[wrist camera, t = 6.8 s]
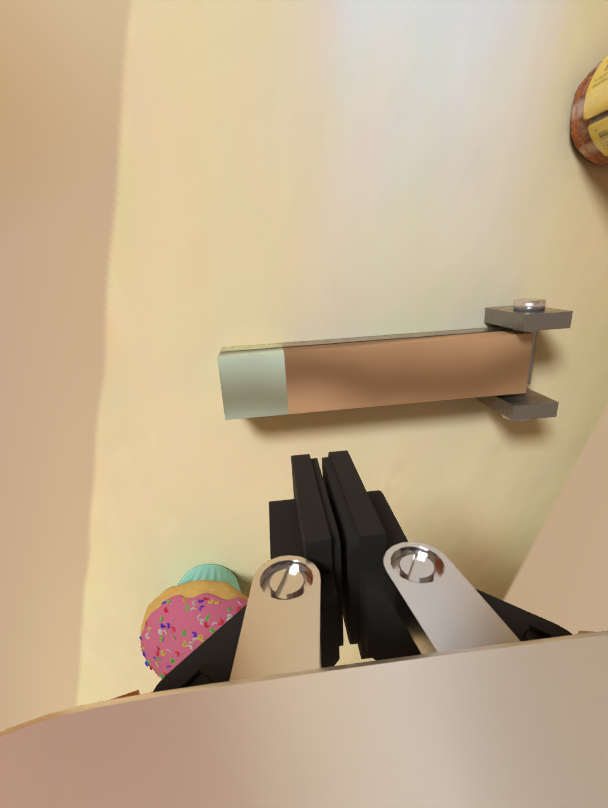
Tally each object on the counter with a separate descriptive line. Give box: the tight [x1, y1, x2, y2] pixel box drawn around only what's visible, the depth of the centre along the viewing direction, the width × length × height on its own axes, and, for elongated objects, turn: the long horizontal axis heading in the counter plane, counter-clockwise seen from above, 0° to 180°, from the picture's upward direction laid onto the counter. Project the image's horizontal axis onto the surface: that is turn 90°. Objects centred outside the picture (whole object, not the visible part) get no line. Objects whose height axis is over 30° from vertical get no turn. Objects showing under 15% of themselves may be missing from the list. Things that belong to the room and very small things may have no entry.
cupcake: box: [140, 564, 249, 679], centre depth 28 cm, size 9×8×12 cm
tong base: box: [220, 299, 573, 422], centre depth 27 cm, size 8×22×4 cm, turn 93°
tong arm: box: [217, 330, 533, 420], centre depth 26 cm, size 4×20×2 cm, turn 93°
